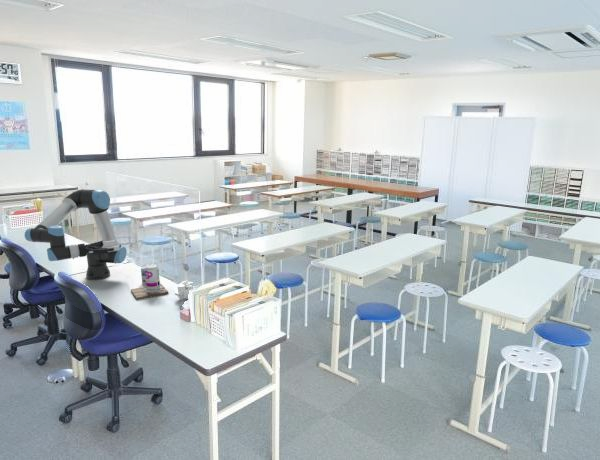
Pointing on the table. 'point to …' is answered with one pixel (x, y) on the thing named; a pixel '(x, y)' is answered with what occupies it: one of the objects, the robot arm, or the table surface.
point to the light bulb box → (144, 274)
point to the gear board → (148, 292)
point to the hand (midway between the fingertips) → (117, 245)
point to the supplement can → (152, 277)
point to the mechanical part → (184, 289)
